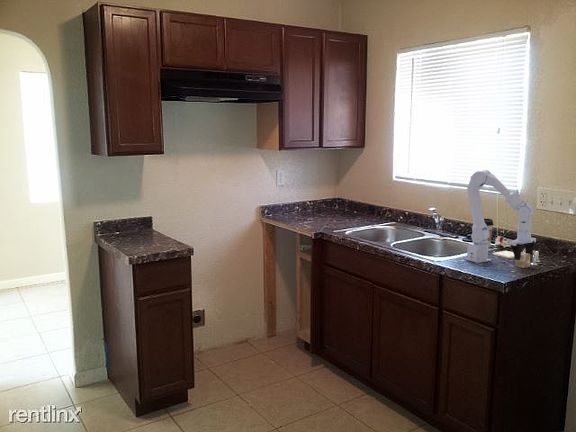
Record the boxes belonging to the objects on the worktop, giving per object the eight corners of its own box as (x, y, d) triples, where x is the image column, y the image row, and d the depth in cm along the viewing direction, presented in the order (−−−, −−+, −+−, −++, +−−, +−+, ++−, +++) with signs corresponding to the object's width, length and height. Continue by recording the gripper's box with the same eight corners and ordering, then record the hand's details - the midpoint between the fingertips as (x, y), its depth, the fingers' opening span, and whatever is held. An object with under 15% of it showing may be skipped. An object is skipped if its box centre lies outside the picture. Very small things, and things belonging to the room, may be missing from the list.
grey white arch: (534, 265, 239) (535, 255, 238) (511, 259, 250) (511, 249, 250) (547, 263, 243) (547, 252, 242) (523, 257, 255) (524, 247, 254)
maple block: (523, 268, 236) (523, 255, 235) (514, 265, 240) (515, 253, 239) (529, 266, 238) (530, 254, 237) (521, 264, 242) (522, 252, 241)
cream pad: (508, 258, 253) (509, 256, 253) (492, 254, 262) (492, 252, 262) (522, 256, 258) (522, 254, 258) (505, 252, 267) (505, 250, 267)
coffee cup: (494, 245, 281) (495, 219, 279) (490, 248, 274) (491, 221, 272) (478, 244, 286) (479, 217, 284) (474, 247, 279) (475, 220, 277)
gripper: (521, 233, 229) (519, 262, 231) (542, 230, 236) (540, 258, 238) (508, 230, 235) (506, 259, 237) (529, 227, 242) (527, 255, 244)
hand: (522, 258), depth 238 cm, fingers open, 7 cm apart
